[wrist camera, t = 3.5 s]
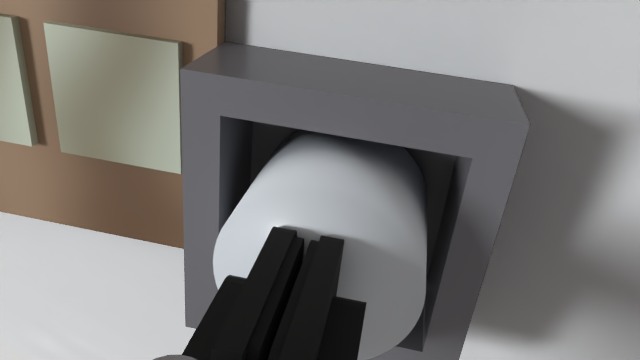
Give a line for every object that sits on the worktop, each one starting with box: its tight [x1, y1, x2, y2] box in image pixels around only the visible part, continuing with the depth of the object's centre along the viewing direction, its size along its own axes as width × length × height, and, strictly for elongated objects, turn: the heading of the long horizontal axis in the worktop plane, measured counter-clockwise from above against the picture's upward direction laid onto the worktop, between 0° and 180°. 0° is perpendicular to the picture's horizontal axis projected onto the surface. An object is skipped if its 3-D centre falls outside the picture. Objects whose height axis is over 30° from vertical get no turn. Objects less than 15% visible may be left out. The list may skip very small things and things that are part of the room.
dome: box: [213, 129, 428, 360], centre depth 14 cm, size 5×5×4 cm
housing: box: [180, 42, 530, 360], centre depth 15 cm, size 8×8×3 cm
